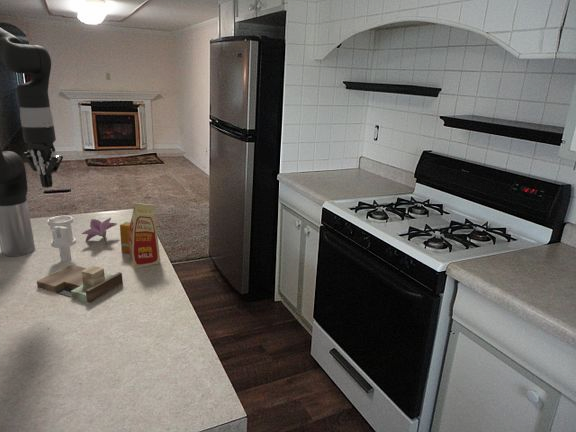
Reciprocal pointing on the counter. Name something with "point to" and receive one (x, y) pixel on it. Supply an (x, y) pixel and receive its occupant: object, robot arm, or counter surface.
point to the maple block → (93, 276)
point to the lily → (98, 228)
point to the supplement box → (125, 237)
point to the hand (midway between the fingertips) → (47, 186)
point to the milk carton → (143, 236)
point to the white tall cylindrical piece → (62, 236)
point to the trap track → (78, 284)
